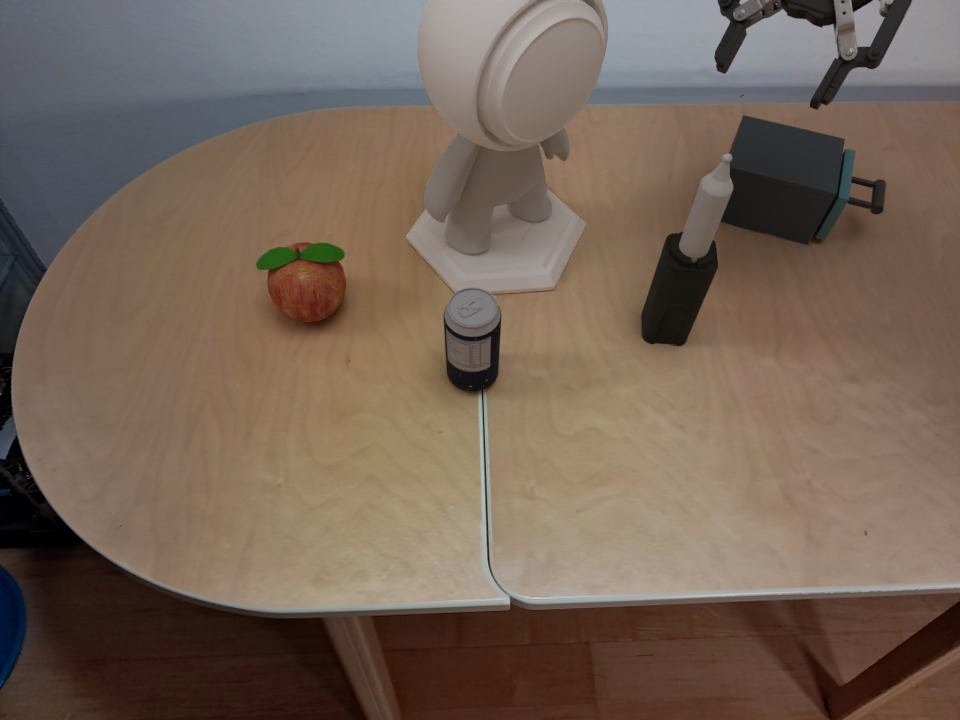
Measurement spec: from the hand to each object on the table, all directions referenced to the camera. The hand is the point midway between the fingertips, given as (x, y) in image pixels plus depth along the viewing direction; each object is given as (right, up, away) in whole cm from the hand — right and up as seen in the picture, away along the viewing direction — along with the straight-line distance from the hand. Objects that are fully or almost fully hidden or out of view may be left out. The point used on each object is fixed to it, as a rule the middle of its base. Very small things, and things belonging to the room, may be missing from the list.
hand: (765, 88), depth 60 cm
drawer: (+17, -4, +31) cm, 35 cm away
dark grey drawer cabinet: (+13, -3, +32) cm, 35 cm away
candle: (-3, -20, +21) cm, 29 cm away
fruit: (-44, -17, +22) cm, 53 cm away
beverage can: (-25, -25, +17) cm, 40 cm away
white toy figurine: (-22, -7, +29) cm, 38 cm away
